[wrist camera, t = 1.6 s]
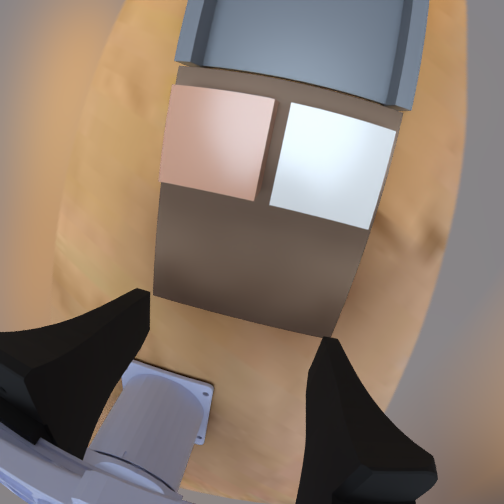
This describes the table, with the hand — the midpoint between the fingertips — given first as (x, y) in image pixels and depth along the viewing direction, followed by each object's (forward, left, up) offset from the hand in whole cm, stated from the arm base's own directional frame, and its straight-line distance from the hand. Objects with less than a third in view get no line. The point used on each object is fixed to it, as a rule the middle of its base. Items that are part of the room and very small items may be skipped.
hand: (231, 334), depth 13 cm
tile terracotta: (+7, +2, -4) cm, 8 cm away
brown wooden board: (+4, 0, -7) cm, 8 cm away
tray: (+14, 0, -7) cm, 16 cm away
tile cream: (+7, -2, -4) cm, 8 cm away
